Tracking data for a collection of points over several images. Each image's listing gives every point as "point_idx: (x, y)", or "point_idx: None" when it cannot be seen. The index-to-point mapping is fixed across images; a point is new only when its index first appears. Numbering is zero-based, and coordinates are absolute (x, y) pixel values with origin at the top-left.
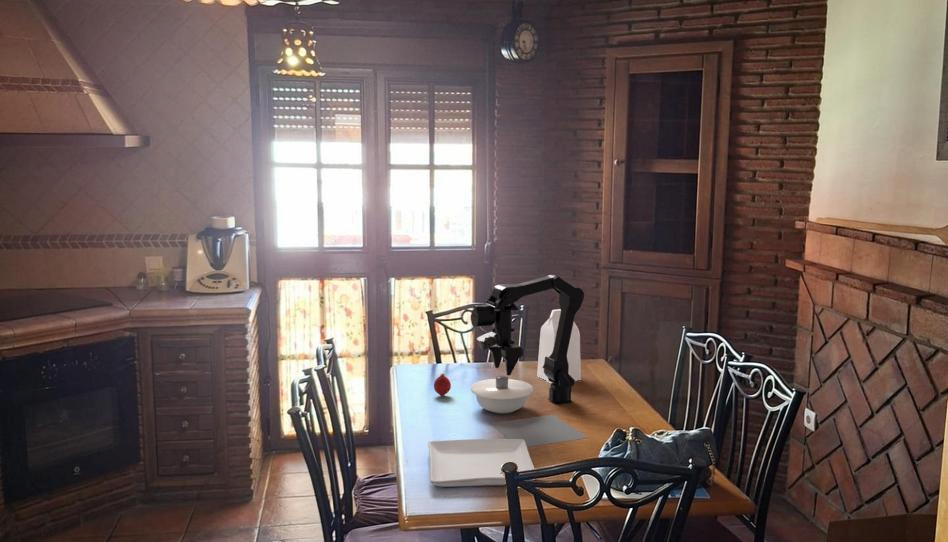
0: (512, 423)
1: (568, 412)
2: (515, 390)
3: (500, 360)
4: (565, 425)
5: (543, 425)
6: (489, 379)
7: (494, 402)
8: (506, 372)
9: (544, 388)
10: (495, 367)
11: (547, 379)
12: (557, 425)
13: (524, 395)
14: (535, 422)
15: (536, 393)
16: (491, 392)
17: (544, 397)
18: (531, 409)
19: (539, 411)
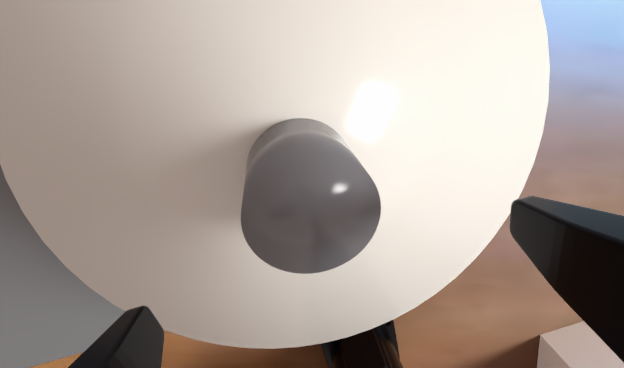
0: None
1: (237, 360)
2: (211, 256)
3: (598, 330)
4: (52, 349)
5: (30, 278)
6: (539, 97)
7: None
8: (123, 332)
9: (517, 312)
10: (522, 199)
11: (582, 333)
12: (45, 325)
13: (114, 296)
14: None
15: (476, 285)
16: (140, 50)
17: (421, 305)
18: None
19: None
